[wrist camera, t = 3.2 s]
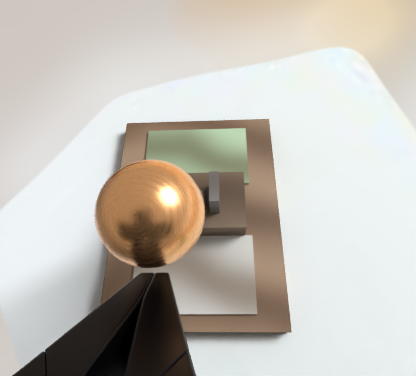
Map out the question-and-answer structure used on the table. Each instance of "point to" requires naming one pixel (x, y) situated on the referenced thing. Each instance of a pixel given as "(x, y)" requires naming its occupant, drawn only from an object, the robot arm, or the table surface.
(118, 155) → the table surface
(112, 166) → the table surface
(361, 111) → the table surface
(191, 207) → the toggle lever
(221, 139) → the switch base
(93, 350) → the robot arm
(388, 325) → the table surface
